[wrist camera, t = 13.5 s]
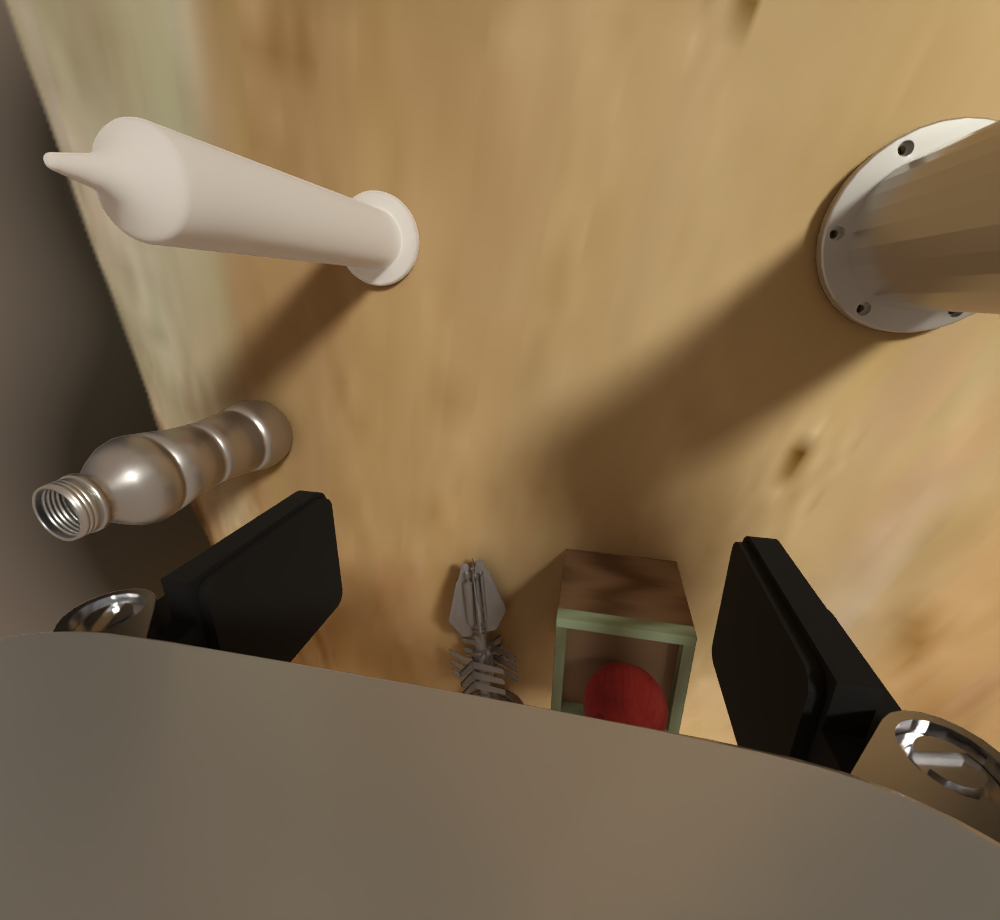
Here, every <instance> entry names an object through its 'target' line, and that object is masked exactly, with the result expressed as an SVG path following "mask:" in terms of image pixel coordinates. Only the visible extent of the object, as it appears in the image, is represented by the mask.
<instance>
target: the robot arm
mask: <svg viewBox="0 0 1000 920" xmlns="http://www.w3.org/2000/svg"><path fill="white" fill-rule="evenodd" d="M898 148H900V149H901V150H902V153H901V155H899V154H898ZM831 231H834V233H835V236H834V238H832V239H831V238H830V232H831ZM816 264H817V271H818V277H819V280H820V282H821V285H822V288H823V291H824V293H825V294H826V296H827V297H828V299H829V300H830V302H831V303H832V305H833V306H834V307H835V308H837V309H838V310H839V311H840V312H841V313H842V314H843V315H844V316H845V317H847V318H849V319H851V320H852V321H854V322H856V323H858V324H859V325H862V326H866V327H869V328H872V329H875V330H881V331H888V332H904V333H913V332H920V331H927V330H933V329H936V328H940V327H943V326H946V325H950V324H953V323H955V322H957V321H959V320H962V319H964V318H966V317H968V316H970V315H972V314H974V313H990V314H1000V120H999V121H997V120H994V119H990V118H980V117H960V118H953V119H946V120H941V121H938V122H934V123H931V124H928V125H925V126H922V127H919V128H917V129H915V130H913V131H911V132H909V133H906V134H904V135H902V136H900V137H898V138H897V139H895V140H893V141H892V142H890V143H889V144H887V145H885V146H884V147H882V148H880V149H879V150H877V151H876V152H875V153H874V154H872V155H871V156H870V157H869V158H868V159H866V160H865V161H864V162H863V163H862V164H860V165H859V166H858V167H857V169H856V170H855V171H854V172H853V173H852V174H851V175H850V176H849V177H848V178H847V180H846V181H845V182H844V183H843V184H842V186H841V187H840V189H839V190H838V192H837V193H836V195H835V196H834V198H833V199H832V201H831V203H830V205H829V207H828V210H827V212H826V214H825V216H824V218H823V220H822V224H821V228H820V231H819V235H818V239H817V250H816ZM858 305H860V306H861V309H860V311H859V312H857V307H858ZM948 311H950V312H949V313H948ZM161 583H162V585H163V590H164V593H165V595H164V596H163V597H162V598H160V599H159V600H156V597H155V595H154V594H153V593H152V592H150V591H148V590H144V589H126V590H120V591H115V592H112V593H108V594H104V595H101V596H99V597H96V598H94V599H91V600H89V601H86V602H84V603H83V604H81V605H79V606H77V607H75V608H74V609H72V610H71V611H70V612H68V613H67V614H66V615H64V616H63V617H62V618H61V620H60V621H59V622H58V623H57V625H56V626H55V629H54V630H53V632H45V633H33V634H26V635H19V636H11V637H5V638H0V920H1000V752H998V751H997V750H996V749H994V748H993V747H992V746H991V745H989V744H988V743H987V742H985V741H984V740H982V739H981V738H979V737H977V736H976V735H974V734H972V733H971V732H969V731H967V730H966V729H964V728H962V727H960V726H958V725H956V724H953V723H951V722H949V721H947V720H944V719H942V718H939V717H936V716H933V715H929V714H926V713H922V712H916V711H906V710H901V709H900V707H899V706H898V704H897V703H896V702H895V700H894V699H893V697H892V696H891V695H890V693H889V692H888V690H887V689H886V688H885V686H884V685H883V683H882V682H881V681H880V679H879V678H878V677H877V675H876V674H875V672H874V671H873V670H872V668H871V667H870V665H869V664H868V663H867V661H866V660H865V658H864V657H863V656H862V654H861V653H860V651H859V650H858V649H857V647H856V646H855V644H854V643H853V642H852V640H851V639H850V638H849V636H848V635H847V633H846V632H845V631H844V629H843V628H842V626H841V625H840V624H839V622H838V621H837V619H836V618H835V617H834V615H833V614H832V613H831V612H830V611H829V610H828V609H827V608H826V607H825V605H824V604H823V603H822V601H821V600H820V598H819V597H818V596H817V594H816V593H815V591H814V590H813V589H812V587H811V586H810V584H809V583H808V582H807V580H806V579H805V577H804V576H803V575H802V573H801V572H800V570H799V569H798V568H797V566H796V565H795V563H794V562H793V560H792V559H791V558H790V556H789V555H788V553H787V552H786V551H785V549H784V548H783V546H782V545H781V544H780V542H779V541H778V540H777V539H770V538H760V537H750V536H746V537H745V538H744V540H743V542H735V543H734V545H733V547H732V551H731V556H730V561H729V566H728V571H727V576H726V581H725V586H724V590H723V595H722V600H721V605H720V610H719V615H718V620H717V624H716V629H715V634H714V639H713V644H712V660H713V664H714V668H715V671H716V674H717V678H718V681H719V684H720V688H721V691H722V694H723V698H724V701H725V704H726V708H727V711H728V714H729V718H730V721H731V725H732V728H733V731H734V735H735V738H736V741H737V745H738V746H737V745H732V744H728V743H723V742H719V741H714V740H709V739H704V738H699V737H694V736H688V735H683V734H678V733H672V732H667V731H662V730H656V729H651V728H646V727H640V726H635V725H630V724H625V723H619V722H614V721H609V720H603V719H598V718H593V717H587V716H582V715H577V714H571V713H566V712H561V711H555V710H550V709H545V708H539V707H534V706H528V705H523V704H518V703H512V702H507V701H501V700H496V699H491V698H485V697H480V696H474V695H469V694H464V693H458V692H453V691H447V690H442V689H436V688H431V687H425V686H420V685H414V684H409V683H403V682H398V681H392V680H387V679H381V678H375V677H370V676H364V675H358V674H353V673H347V672H342V671H336V670H330V669H325V668H319V667H314V666H308V665H302V664H296V663H291V661H292V660H293V658H294V657H295V656H296V655H297V654H298V653H299V651H300V650H301V649H302V648H303V647H304V645H305V644H306V643H307V642H308V641H309V640H310V638H311V637H312V636H313V635H314V634H315V633H316V631H317V630H318V629H319V628H320V627H321V625H322V624H323V623H324V622H325V621H326V620H327V618H328V617H329V616H330V615H331V614H332V612H333V611H334V610H335V609H336V608H337V607H338V605H339V603H340V601H341V598H342V583H341V575H340V567H339V558H338V550H337V542H336V534H335V526H334V518H333V510H332V504H331V502H330V500H329V499H326V497H325V495H324V494H323V493H319V492H309V491H297V492H295V493H294V494H292V495H291V496H289V497H287V498H286V499H284V500H283V501H281V502H280V503H278V504H277V505H275V506H274V507H272V508H270V509H269V510H267V511H266V512H264V513H263V514H261V515H260V516H258V517H256V518H255V519H253V520H252V521H250V522H249V523H247V524H246V525H244V526H243V527H241V528H239V529H238V530H236V531H235V532H233V533H232V534H230V535H229V536H227V537H225V538H224V539H222V540H221V541H219V542H218V543H216V544H215V545H213V546H211V547H210V548H208V549H207V550H205V551H204V552H202V553H201V554H199V555H198V556H196V557H194V558H193V559H191V560H190V561H189V562H187V563H185V564H184V565H182V566H180V567H179V568H177V569H176V570H174V571H173V572H171V573H170V574H168V575H167V576H165V577H164V578H162V579H161Z"/></svg>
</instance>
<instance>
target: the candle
mask: <svg viewBox="0 0 1000 920" xmlns="http://www.w3.org/2000/svg"><path fill="white" fill-rule="evenodd" d="M43 159H44V163H45V164H46V166H47V167H48V168H50V169H51V170H54V171H56V172H58V173H60V174H62V175H65V176H67V177H69V178H71V179H73V180H76V181H78V182H80V183H82V184H85V185H87V186H89V187H91V188H93V189H94V190H95V191H96V194H97V197H98V199H99V201H100V203H101V205H102V207H103V209H104V210H105V212H106V213H107V215H108V216H109V217H110V219H111V220H112V221H113V222H114V223H115V224H116V225H117V226H118V227H119V228H120V229H121V230H122V231H123V232H125V233H126V234H127V235H129V236H130V237H132V238H134V239H136V240H138V241H141V242H144V243H147V244H152V245H161V246H170V247H179V248H188V249H197V250H206V251H215V252H225V253H234V254H243V255H252V256H261V257H270V258H279V259H288V260H297V261H306V262H315V263H324V264H334V265H343V266H346V267H347V268H348V269H349V271H350V272H351V273H352V274H353V275H354V276H356V277H357V278H358V279H360V280H361V281H363V282H365V283H368V284H371V285H376V286H387V285H391V284H394V283H397V282H398V281H400V280H402V279H403V278H404V277H405V276H406V275H407V274H408V273H409V272H410V271H411V269H412V268H413V266H414V264H415V262H416V259H417V255H418V251H419V234H418V229H417V225H416V222H415V220H414V218H413V216H412V214H411V212H410V211H409V209H408V208H407V207H406V206H405V205H404V203H403V202H401V201H400V200H399V199H398V198H396V197H394V196H393V195H391V194H388V193H386V192H383V191H376V190H372V191H365V192H362V193H360V194H358V195H356V196H354V197H353V198H350V197H347V196H344V195H342V194H339V193H337V192H334V191H331V190H329V189H326V188H323V187H321V186H318V185H316V184H313V183H310V182H308V181H305V180H302V179H300V178H297V177H295V176H292V175H289V174H287V173H284V172H281V171H279V170H276V169H274V168H271V167H268V166H266V165H263V164H261V163H258V162H255V161H253V160H250V159H247V158H245V157H242V156H240V155H237V154H234V153H232V152H229V151H226V150H224V149H221V148H219V147H216V146H213V145H211V144H208V143H206V142H203V141H200V140H198V139H195V138H192V137H190V136H187V135H185V134H182V133H179V132H177V131H174V130H171V129H169V128H166V127H164V126H161V125H158V124H156V123H153V122H150V121H148V120H145V119H142V118H138V117H120V118H117V119H114V120H112V121H111V122H109V123H108V124H106V125H105V126H104V127H103V128H102V129H101V130H100V132H99V133H98V135H97V136H96V138H95V141H94V143H93V147H92V152H90V153H57V152H54V153H53V152H48V153H46V154H45V155H44V158H43Z"/></svg>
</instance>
